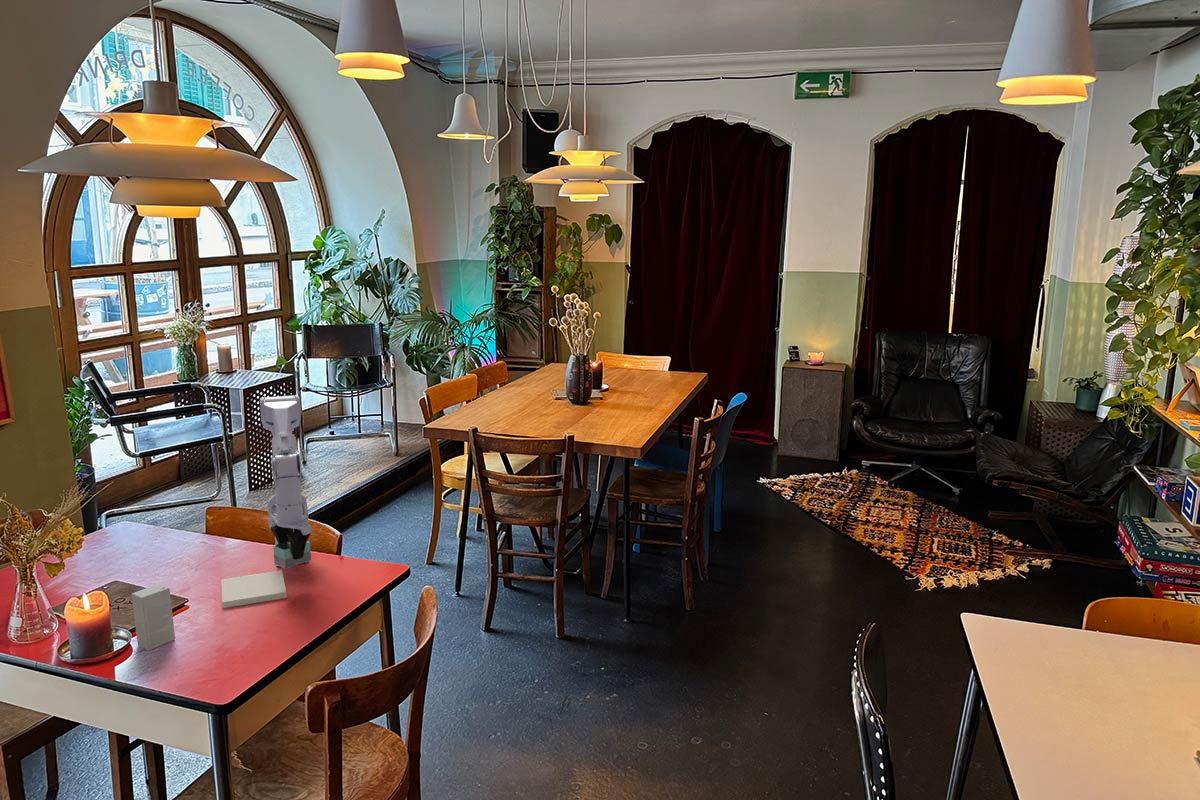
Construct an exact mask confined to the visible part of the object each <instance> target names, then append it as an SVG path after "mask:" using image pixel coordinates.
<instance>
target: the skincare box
mask: <svg viewBox="0 0 1200 800" xmlns="http://www.w3.org/2000/svg"><path fill="white" fill-rule="evenodd" d="M131 603H132V609H133V618H134V626H135V633H136V640H137V641H136V642H137V646H138V647H139V648H142V649H144V650H146V651H148V652H149V651H152V650H154V649H157V648H158V647H160V646H162V645H164V644H167V643H169V642H171V641H173V640H175V639H176V634H175V626H174V625H175V623H174V617H173V616H174V615H173V607H172V599H171V590H170V587H169V586H165V585H163V584H160V583H156V584H153V585H151V586H148V587H145V588H143V589H140V590H138V591H135V592H132V593H131Z"/></svg>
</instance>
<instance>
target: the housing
mask: <svg viewBox="0 0 1200 800" xmlns="http://www.w3.org/2000/svg"><path fill="white" fill-rule="evenodd" d="M311 550H312V549H311V541H310V540H307V543H306V546H305V550H304V555H303V558H300V559H297V560H295V559H294V557H293V553H292V547H291V544H290V541H289V540H288V541H286V542H283V543H279V544H274V545H273V559H274V560H273V562H274V565H275V566H276V565H278V566H279V567H280V568H282V569H285V570H286V569H289V568H292V567H294V566H297V565H301V564H305V563H308V562H309V561H312V555H311V553H312V551H311ZM307 561H308V562H307ZM304 562H305V563H304Z"/></svg>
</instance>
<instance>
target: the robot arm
mask: <svg viewBox="0 0 1200 800" xmlns="http://www.w3.org/2000/svg"><path fill="white" fill-rule="evenodd" d="M259 405H260V418H261V425H262V426H263V429H265V430H267V431H270V432H271V434H272V438H271V449H272V452H271V453H272V458H271V473H272V474H271V475H272V478H273V485H274V489H275V490H274V491H275V492H274V493H275V494H273V495H272V496H271V497H269V499H268V502H267V519H268V528H269V529H270V531H271V532H272V534H273V535H274V541H275V542H274V543H275V544H274V545H276V544H279V543H283V542H286V541H288V540H289V541H290V544H291V547H292V553H293V557H294V559H295V560H297V559H300V558H303V555H304V550H305V546H306V543H307V541H309V538H310V536H311V534H312V533H313V532H312V525H311V524H309V510H308V503H307V502H308V501H307V497H306V496H305V495H304V494H303V493H302V489H301V488H302V487H301V476H302V473H303V472H302V471H303V469H302V461H301V460H302V458H301V455H300V452H299V450H298V444H297V442H298V441H297V438H296V436H295V435H294V433H293V430H294V429H296V428H298V427H299V426H300V423H301V416H302V409H301V397H300V396H299V395H298V394H295V395H282V396H267V397H264V396H262V397H260V398H259ZM298 473H299V474H298ZM306 563H309V561H307V562H306ZM277 566H278V565H276V564H275V567H277Z"/></svg>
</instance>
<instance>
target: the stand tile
mask: <svg viewBox="0 0 1200 800" xmlns="http://www.w3.org/2000/svg"><path fill="white" fill-rule="evenodd" d="M220 581H221V584H220V585H221V605H222V609H226V608H232V607H239V606H244V605H245V606H246V605H252V604H256V603H264V602H268V601H269V602H270V601H275V600H281V598H282V599H287V598H288V596H287V589H286V584H285V579H284V574H283V570H282V569H281V570H274V571H267V572H262V573H255V574H253V573H252V574H249V575H242V576H235V577H229V578H222V579H221V580H220Z"/></svg>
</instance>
